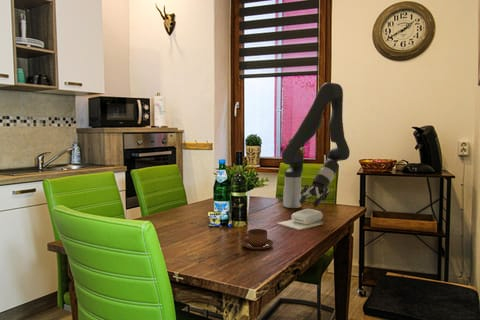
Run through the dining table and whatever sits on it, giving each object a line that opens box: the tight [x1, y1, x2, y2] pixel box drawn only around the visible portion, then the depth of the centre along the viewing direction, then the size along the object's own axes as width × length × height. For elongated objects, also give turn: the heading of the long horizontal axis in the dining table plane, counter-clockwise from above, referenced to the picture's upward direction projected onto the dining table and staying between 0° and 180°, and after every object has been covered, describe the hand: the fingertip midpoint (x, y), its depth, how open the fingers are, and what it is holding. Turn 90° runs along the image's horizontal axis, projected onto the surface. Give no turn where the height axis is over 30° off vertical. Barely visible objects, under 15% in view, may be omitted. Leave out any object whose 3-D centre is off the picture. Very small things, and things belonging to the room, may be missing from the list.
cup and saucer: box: [241, 228, 274, 250], centre depth 155 cm, size 12×12×6 cm
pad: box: [276, 219, 324, 231], centre depth 189 cm, size 14×16×1 cm
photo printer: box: [290, 208, 324, 224], centre depth 191 cm, size 10×4×12 cm
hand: (307, 204), depth 191 cm, fingers open, 8 cm apart
